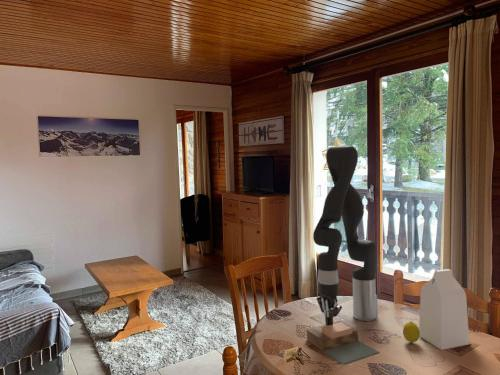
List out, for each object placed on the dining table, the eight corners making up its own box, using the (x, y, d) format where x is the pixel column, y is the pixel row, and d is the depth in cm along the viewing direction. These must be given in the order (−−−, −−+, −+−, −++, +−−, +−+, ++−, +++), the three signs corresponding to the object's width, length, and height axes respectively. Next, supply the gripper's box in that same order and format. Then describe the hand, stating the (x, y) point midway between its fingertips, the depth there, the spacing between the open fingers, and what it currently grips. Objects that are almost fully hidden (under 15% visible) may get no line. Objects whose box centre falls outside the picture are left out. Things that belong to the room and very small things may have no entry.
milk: (441, 349, 133) (441, 276, 131) (418, 335, 144) (418, 268, 142) (469, 344, 136) (469, 272, 134) (444, 330, 147) (444, 264, 145)
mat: (359, 341, 141) (359, 340, 141) (379, 352, 132) (379, 351, 132) (324, 351, 134) (324, 350, 134) (342, 364, 125) (342, 363, 125)
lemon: (418, 340, 140) (418, 319, 139) (420, 347, 135) (420, 325, 134) (402, 338, 142) (402, 317, 141) (403, 345, 136) (403, 323, 136)
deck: (340, 330, 150) (340, 320, 150) (358, 340, 141) (358, 330, 141) (307, 340, 143) (306, 329, 143) (323, 351, 134) (323, 340, 134)
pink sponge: (341, 327, 144) (341, 322, 144) (352, 333, 139) (352, 328, 139) (321, 332, 140) (321, 327, 140) (332, 339, 135) (332, 333, 135)
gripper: (347, 283, 138) (348, 330, 139) (325, 274, 150) (326, 317, 151) (331, 287, 135) (332, 334, 136) (309, 277, 147) (310, 321, 148)
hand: (329, 325), depth 143 cm, fingers closed
